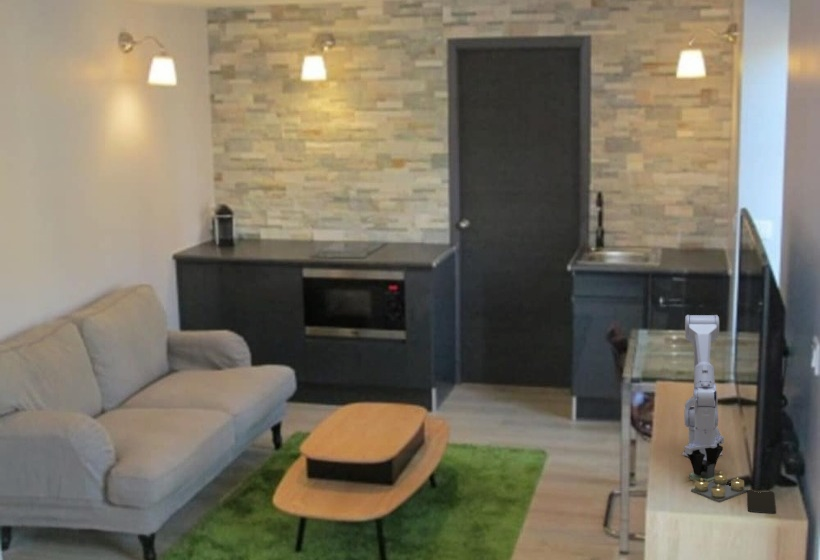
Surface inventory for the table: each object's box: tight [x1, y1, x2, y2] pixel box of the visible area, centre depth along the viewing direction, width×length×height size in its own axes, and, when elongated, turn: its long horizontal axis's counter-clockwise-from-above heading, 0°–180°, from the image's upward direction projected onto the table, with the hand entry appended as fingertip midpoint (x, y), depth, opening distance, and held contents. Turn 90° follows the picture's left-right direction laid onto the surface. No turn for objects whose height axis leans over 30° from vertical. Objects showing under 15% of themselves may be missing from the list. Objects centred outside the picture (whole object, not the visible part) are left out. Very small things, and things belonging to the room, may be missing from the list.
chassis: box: [690, 470, 749, 503], centre depth 309 cm, size 12×10×4 cm
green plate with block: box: [688, 459, 718, 483], centre depth 320 cm, size 9×7×5 cm
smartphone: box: [746, 489, 777, 515], centre depth 301 cm, size 7×1×15 cm
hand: (704, 471), depth 320 cm, fingers open, 5 cm apart
